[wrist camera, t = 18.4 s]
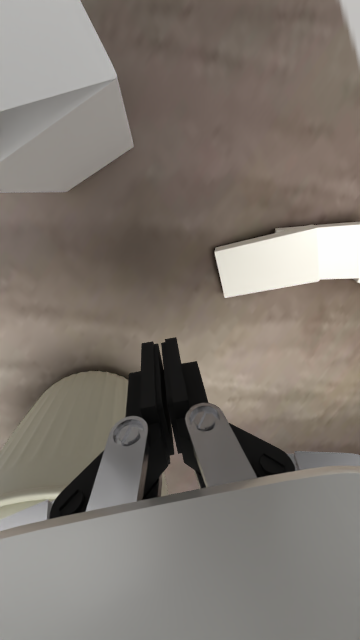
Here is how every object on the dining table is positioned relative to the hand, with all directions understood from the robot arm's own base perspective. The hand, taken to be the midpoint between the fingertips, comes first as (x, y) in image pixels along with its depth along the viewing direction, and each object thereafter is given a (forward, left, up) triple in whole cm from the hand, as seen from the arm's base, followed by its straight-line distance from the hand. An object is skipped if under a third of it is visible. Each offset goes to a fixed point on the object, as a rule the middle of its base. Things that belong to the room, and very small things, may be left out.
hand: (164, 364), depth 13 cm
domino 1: (+1, +7, -15) cm, 17 cm away
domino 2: (0, +12, -15) cm, 20 cm away
